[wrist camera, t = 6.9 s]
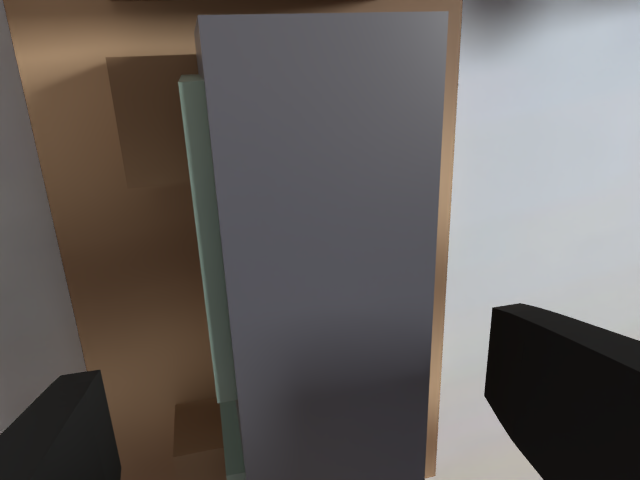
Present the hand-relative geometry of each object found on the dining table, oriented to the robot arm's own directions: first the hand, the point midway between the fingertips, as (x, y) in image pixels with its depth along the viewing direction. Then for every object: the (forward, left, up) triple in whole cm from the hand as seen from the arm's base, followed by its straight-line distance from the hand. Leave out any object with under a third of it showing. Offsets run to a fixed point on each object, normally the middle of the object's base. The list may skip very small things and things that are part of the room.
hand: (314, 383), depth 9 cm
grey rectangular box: (0, 0, -3) cm, 3 cm away
